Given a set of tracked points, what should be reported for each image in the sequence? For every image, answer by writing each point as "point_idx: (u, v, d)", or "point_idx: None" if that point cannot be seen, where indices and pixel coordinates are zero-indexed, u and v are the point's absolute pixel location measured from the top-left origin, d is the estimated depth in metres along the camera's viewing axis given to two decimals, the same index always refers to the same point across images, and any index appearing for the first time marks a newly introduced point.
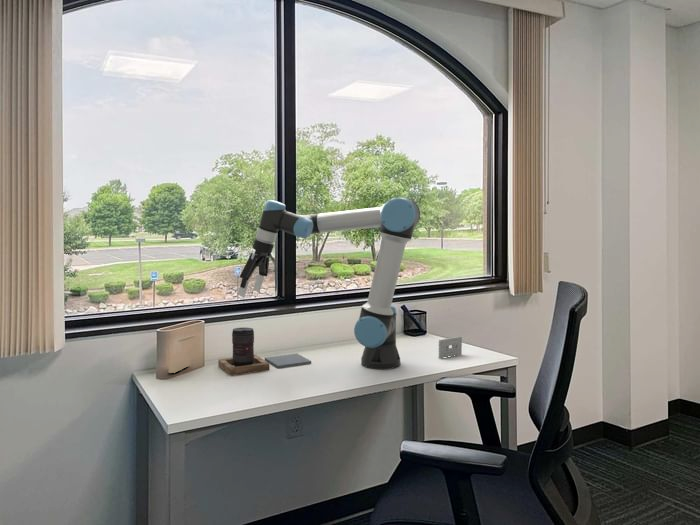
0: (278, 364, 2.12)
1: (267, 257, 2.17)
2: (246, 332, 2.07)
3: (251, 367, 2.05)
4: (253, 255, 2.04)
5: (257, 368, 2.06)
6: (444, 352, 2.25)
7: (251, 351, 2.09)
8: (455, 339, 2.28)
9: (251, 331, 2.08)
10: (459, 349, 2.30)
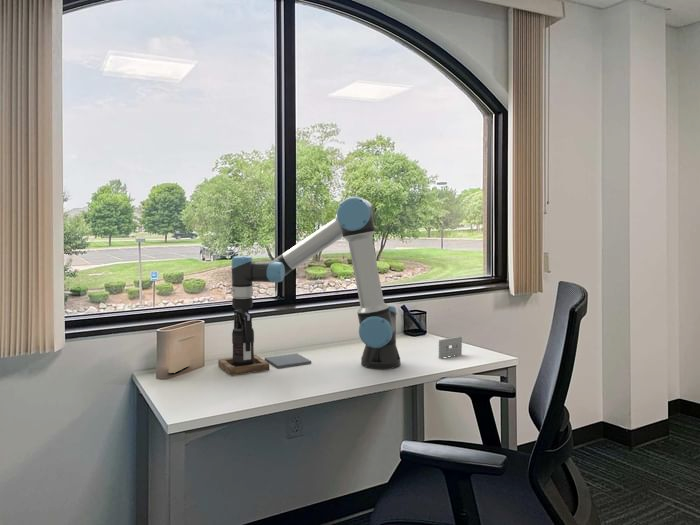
0: (278, 364, 2.12)
1: None
2: None
3: (251, 367, 2.05)
4: (249, 316, 2.04)
5: (257, 368, 2.06)
6: (444, 352, 2.25)
7: (251, 351, 2.09)
8: (455, 339, 2.28)
9: None
10: (459, 349, 2.30)
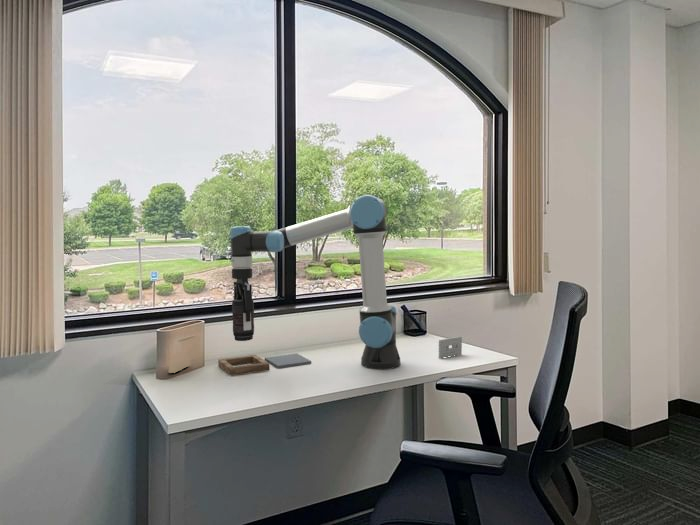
0: (278, 364, 2.12)
1: None
2: None
3: (251, 367, 2.05)
4: (248, 286, 2.03)
5: (257, 368, 2.06)
6: (444, 352, 2.25)
7: (251, 322, 2.08)
8: (455, 339, 2.28)
9: None
10: (459, 349, 2.30)
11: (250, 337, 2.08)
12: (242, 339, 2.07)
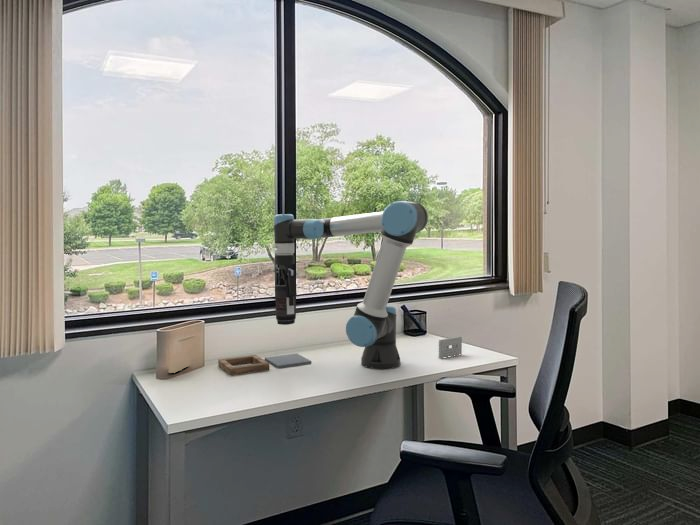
0: (278, 364, 2.12)
1: None
2: None
3: (251, 367, 2.05)
4: (292, 272, 2.11)
5: (257, 368, 2.06)
6: (444, 352, 2.25)
7: (294, 306, 2.16)
8: (455, 339, 2.28)
9: None
10: (459, 349, 2.30)
11: (292, 321, 2.16)
12: (285, 323, 2.15)
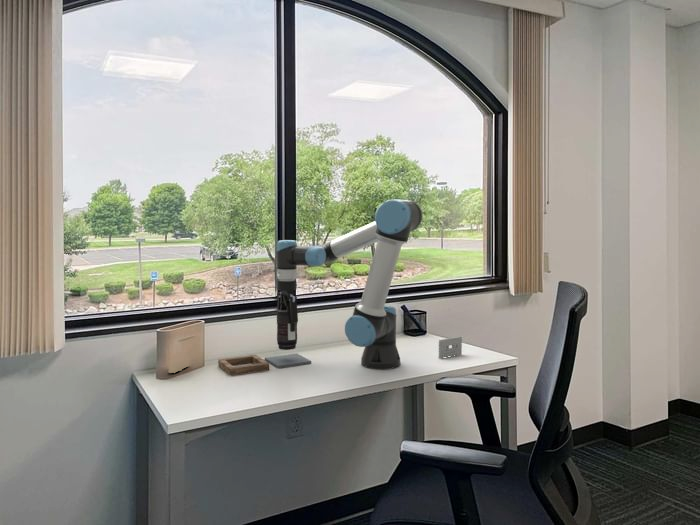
0: (278, 364, 2.12)
1: None
2: None
3: (251, 367, 2.05)
4: (294, 298, 2.12)
5: (257, 368, 2.06)
6: (444, 352, 2.25)
7: (295, 331, 2.17)
8: (455, 339, 2.28)
9: None
10: (459, 349, 2.30)
11: (293, 346, 2.18)
12: (286, 348, 2.16)
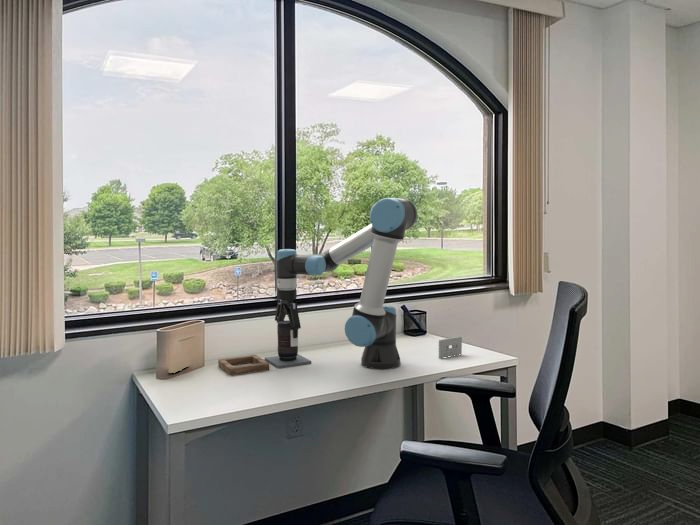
0: (278, 364, 2.12)
1: None
2: None
3: (251, 367, 2.05)
4: (294, 304, 2.12)
5: (257, 368, 2.06)
6: (444, 352, 2.25)
7: None
8: (455, 339, 2.28)
9: None
10: (459, 349, 2.30)
11: (294, 358, 2.18)
12: (287, 360, 2.16)
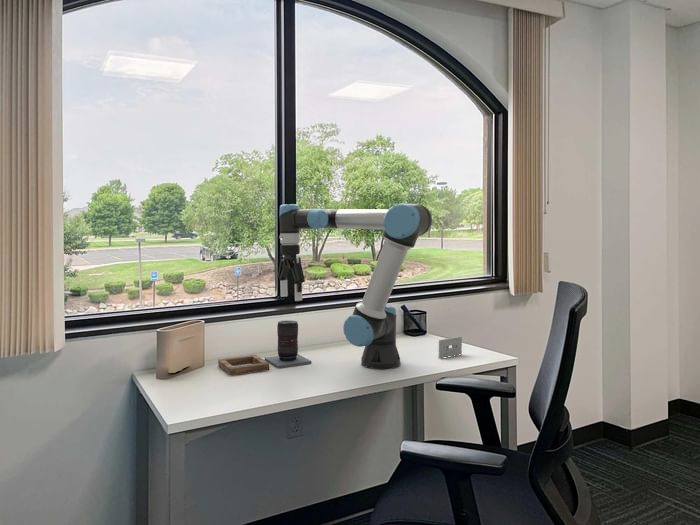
0: (278, 364, 2.12)
1: None
2: (291, 325, 2.15)
3: (251, 367, 2.05)
4: (298, 258, 2.11)
5: (257, 368, 2.06)
6: (444, 352, 2.25)
7: (296, 343, 2.17)
8: (455, 339, 2.28)
9: (296, 324, 2.17)
10: (459, 349, 2.30)
11: (294, 358, 2.18)
12: (287, 360, 2.16)
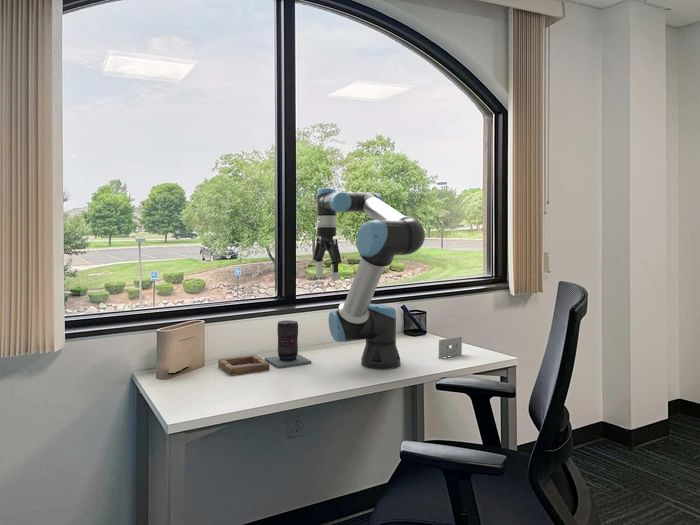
0: (278, 364, 2.12)
1: None
2: (291, 325, 2.15)
3: (251, 367, 2.05)
4: (334, 240, 2.20)
5: (257, 368, 2.06)
6: (444, 352, 2.25)
7: (296, 343, 2.17)
8: (455, 339, 2.28)
9: (296, 324, 2.17)
10: (459, 349, 2.30)
11: (294, 358, 2.18)
12: (287, 360, 2.16)
